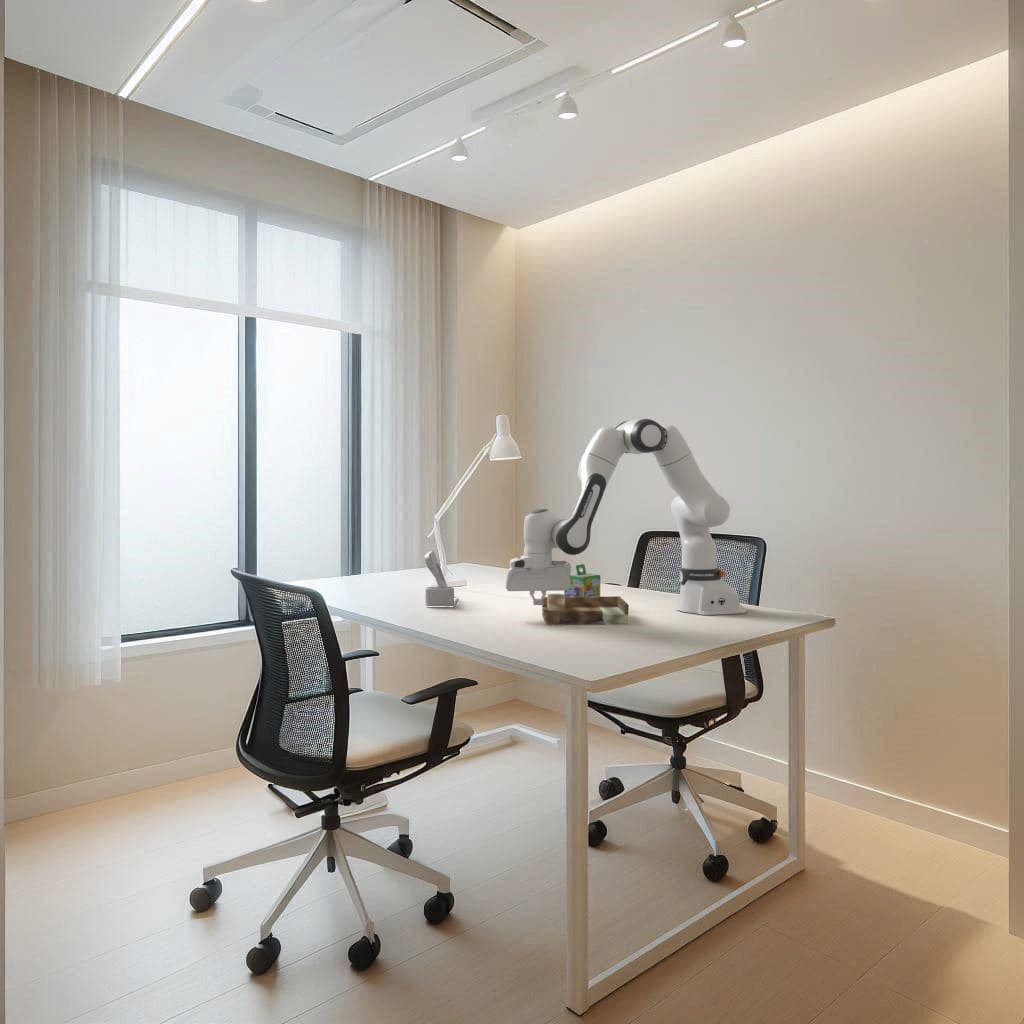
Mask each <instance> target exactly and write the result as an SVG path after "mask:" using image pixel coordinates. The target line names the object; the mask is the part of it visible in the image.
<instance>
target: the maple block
mask: <svg viewBox="0 0 1024 1024" xmlns="http://www.w3.org/2000/svg"><path fill="white" fill-rule="evenodd" d="M547 597H548V610H549V611H563V610H565V595H564V592H563V593H547Z"/></svg>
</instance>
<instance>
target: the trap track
mask: <svg viewBox="0 0 1024 1024" xmlns="http://www.w3.org/2000/svg"><path fill="white" fill-rule="evenodd" d="M541 616H542V619H543V620H544V623H545V625H546V626H585V625H586V626H588V625H589V626H590V625H591V626H592V625H594V626H595V625H598V626H599V625H603V626H604V625H629V616H630V615H629V603H627V601H625V600H624V599H623V598H622V596H619V595H617V596H616V595H615V596H606V595H605V596H601V595H600V596H599V597H565V610H563V611H549V610H548V596H545V597H544V599H543V605H541Z"/></svg>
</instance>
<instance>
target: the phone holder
mask: <svg viewBox="0 0 1024 1024" xmlns="http://www.w3.org/2000/svg"><path fill="white" fill-rule="evenodd" d="M424 561H425V564H426V566H427V569H428V570H429V571H430V573H431V575H432V576H433V577H434V579H435V581H436V584H437V586H428V587H425V605H426V606H454V605H455V604H457V603H456V602H458V601H459V596H458V597H457V596H455V588H454V587H452V586H451V587H450V586H448V583H447V581H446V579H445V576H444V574H443V570H442V568H441V564H440V562H439V560H438V557H437V555H436V553H435V551H434V550H431V551H429V552H427V553H426V554H425V555H424ZM454 598H456V599H455V601H454ZM457 600H458V601H457ZM455 606H456V605H455Z"/></svg>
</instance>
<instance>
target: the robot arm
mask: <svg viewBox="0 0 1024 1024" xmlns="http://www.w3.org/2000/svg"><path fill="white" fill-rule="evenodd" d="M650 453H652V455H654V457H655V459H656V462H657V464H658V467H659V468H660V470H661V472H662V474H663V477H664V478H665V481H666V482H667V484H668V486H669V487H670V489H672V490H673V491H674V492H675V493H676V494H677V495H676V496H675V497H674V499H673V500H672V501H671V503H670V504H671V505H670V512H671V514H672V517H673V518H674V520H675V523H676V525H677V529H678V533H679V536H680V544H681V566H680V570H679V583H680V589H679V596H678V600H677V605H676V608H675V609H676V610H677V611H680V612H684V613H689V614H697V615H702V616H712V615H713V616H714V615H715V616H717V615H734V614H735V615H736V614H737V615H738V614H746V613H747V608H746V607H745V606H743V605H741V604H740V598H739V593H738V592H737V591H736V589H734V588H732V586H730V585H729V584H728V583H727V582H725V581H724V580H723V579H722V578H723V577H724V578H725V577H726V576H727V572H726V570H724V569H721V570H720V569H719V568H718V567H717V544H716V542H715V540H714V539H713V538H712V535H711V532H710V528H713V527H714V528H715V527H719V526H721V525H722V526H723V524H725V523H726V522H727V521H728V519H729V517H730V515H731V507H730V504H729V502H728V500H726V498H724V497H723V496H721V494H719V493H718V492H717V491H716V490H715V488H714V487H713V486H712V484H711V483H710V482H709V481H708V479H707V478H706V477H705V475H704V474H703V472H702V471H701V469H700V467H699V465H698V463H697V461H696V459H695V457H694V455H693V453H692V451H691V449H690V446H689V445H688V443H687V441H686V440H685V438H684V436H683V435H682V433H681V432H680V431H679V429H678V428H677V427H675V426H674V425H670V424H669V425H668V424H667V425H661V424H659V423H658V422H657V421H655V420H653V419H650V418H635V419H631V420H625V421H622V422H621V423H619V424H618V425H617V426H616V427H612V426H602V427H600V428H598V430H597V431H596V432H595V434H594V435H593V436H592V438H591V439H590V441H589V442H588V445H587V446H586V448H585V450H584V452H583V454H582V457H581V458H580V461H579V464H578V469H577V477H578V479H579V482H580V484H581V492H580V496H579V498H578V501H577V503H576V505H575V508H574V510H573V513H572V515H571V517H570V518H569V519H566V518H564V517H563V516H562V517H561V516H559V515H557V514H555V513H553V512H552V511H550V509H547V508H541V509H540V508H539V509H535V510H531V511H529V512H527V514H526V515H525V517H524V522H523V541H524V549H523V555H521V556H517V557H514V558H511V559H510V561H509V568H508V569H507V573H506V579H505V589H506V590H507V591H508V592H529V595H530V597H531V598H532V601H533V603H532V604H533V606H542V605H543V599H544V597H547V596H546V595H547V591H548V592H549V591H550V592H552V591H555V592H556V591H557V592H559V591H561V592H562V591H563V592H564V591H567V590H569V589H570V578H569V574H572V573H571V572H572V565H571V564H570V562H568V561H566V560H553V549H558V550H560V551H562V552H563V553H565V554H567V555H569V556H570V555H571V556H576V555H580V554H582V553H583V552H584V551H585V550H587V548H588V547H589V545H590V542H591V529H592V524H593V522H594V519H595V517H596V514H597V511H598V509H599V506H600V504H601V501H602V499H603V496H604V494H605V490H606V488H607V486H608V483H609V482H610V480H611V478H612V475H613V474H614V472H615V470H616V468H617V466H618V463H619V462H620V459H621V458H622V456H624V454H634V455H640V454H650ZM535 592H541V593H540V594H542V595H541V596H540V598H536V597H535V596H534V595H535Z"/></svg>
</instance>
